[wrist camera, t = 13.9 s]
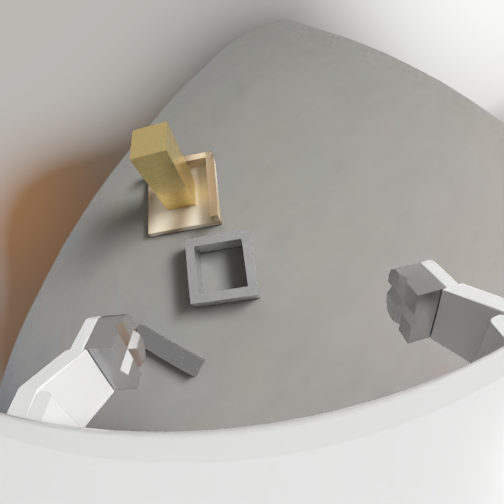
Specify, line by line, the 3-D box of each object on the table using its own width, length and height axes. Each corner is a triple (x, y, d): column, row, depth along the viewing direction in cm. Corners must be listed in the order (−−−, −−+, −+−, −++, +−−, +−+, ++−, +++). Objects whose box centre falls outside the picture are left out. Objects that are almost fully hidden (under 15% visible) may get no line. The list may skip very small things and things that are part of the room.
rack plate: (151, 236, 44) (143, 229, 41) (151, 175, 48) (144, 165, 45) (221, 224, 44) (217, 215, 41) (215, 162, 47) (211, 150, 44)
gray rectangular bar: (205, 359, 39) (201, 360, 37) (197, 375, 38) (193, 376, 36) (145, 325, 41) (139, 324, 39) (138, 340, 40) (132, 340, 38)
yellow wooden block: (168, 210, 44) (129, 159, 31) (167, 185, 45) (132, 130, 32) (196, 205, 44) (166, 150, 31) (194, 180, 45) (166, 121, 32)
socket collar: (196, 306, 41) (190, 304, 38) (190, 246, 43) (184, 239, 40) (260, 297, 40) (259, 294, 38) (250, 236, 43) (249, 228, 40)
